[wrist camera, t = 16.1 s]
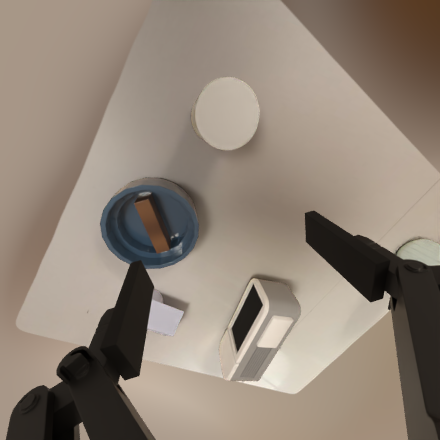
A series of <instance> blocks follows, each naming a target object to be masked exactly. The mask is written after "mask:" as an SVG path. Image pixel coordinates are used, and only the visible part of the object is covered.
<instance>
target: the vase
mask: <svg viewBox="0 0 440 440" xmlns="http://www.w3.org/2000/svg"><path fill="white" fill-rule="evenodd" d="M396 255H397V256H398V257H400V258H402V259H403V260H405V259H412V260H417V261H420V262H423V263H425V264H426V265H428V266H433V265H440V244H438V243H435V242H433V241H431V240H427V239H419V240H414V241H411V242H408V243H406V244H405V245H403V246H402V247H401V248H400V249H399V250H398V252H397V254H396Z"/></svg>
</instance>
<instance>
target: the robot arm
mask: <svg viewBox="0 0 440 440" xmlns="http://www.w3.org/2000/svg"><path fill="white" fill-rule="evenodd" d="M305 230H306V242H307V243H308V244H309V245H310V246H311V247H312V248H313V249H314V250H315V251H316V252H317V253H318V254H319V255H320V256H322V257H323V258H324V259H325V260H326V261H327V262H328V263H329V264H330V265H331V266H332V267H333V268H334V269H335V270H336V271H338V272H339V273H340V274H341V275H342V276H343V277H344V278H345V279H346V280H347V281H348V282H349V283H350V284H351V285H352V286H353V287H355V288H356V289H357V290H358V291H359V292H360V293H361V294H362V295H363V296H364V297H365V298H366V299H367V300H368V301H369V302H373V301H376V300H380V299H383V296H384V291H386V292H387V293H388V294H390V295H391V297H390V301H389V306H388V310H390V309H391V313H392V320H393V328H394V336H395V342H396V351H397V357H398V365H399V373H400V381H401V388H402V396H403V403H404V411H405V419H406V426H407V434H408V440H440V265H433V266H428V265H426V264H425V263H423V262H420V261H417V260H412V259H405V260H403V259H402V258H400V257H398V256H397V255H395V254H393V253H392V252H390V251H388V250H387V249H385V248H383V247H381V246H380V245H378V244H377V243H375V242H374V241H372V240H370V239H369V238H367V237H363V236H360V235H356V236H353V235H351V234H350V233H348V232H346V231H345V230H343V229H342V228H340V227H339V226H337V225H336V224H334V223H333V222H331V221H329V220H328V219H326V218H325V217H323V216H322V215H320V214H319V213H317V212H316V211H310V212H307V213H305ZM153 290H154V285H153V283H152V281H151V279H150V277H149V275H148V273H147V271H146V269H145V267H144V265H143V263H142V261H141V260H139V261H135V262H132V263H131V264H130V267H129V269H128V272H127V275H126V278H125V280H124V283H123V286H122V289H121V291H120V294H119V297H118V300H117V302H116V305H115V308H112V309H108V310H107V311H106V312H105V314H104V315H103V316H102V317H101V319H100V322H99V324H98V327H97V329H96V332H95V334H94V336H93V339H92V341H91V344H90V346H89V349H88V348H87V347H86V346H81V347H78V348H75V349H74V350H72V351H71V352H69V353H68V354H67V355H66V356H65V357H64V358H63V359H62V361H61V362H60V363H59V366H58V368H57V376H59V378H61V379H62V380H63V381H62V382H61V383H59V384H57V385H56V386H54V387H52V388H51V389H49V388H47V387H46V386H44V385H42V386H38V387H36V388H34V389H32V390H31V391H29V392H28V393H27V394H26V395H25V396H24V397H23V398H22V399H21V400H20V401H19V402H18V404H17V405H16V407H15V408H14V410H13V412H12V414H11V417H10V422H9V427H8V432H7V437H6V440H80V434H79V424H80V423H81V422H83V424H84V427H85V429H86V432H87V434H88V436H89V439H90V440H155V438H154V436H153V435H152V433H151V432H150V430H149V429H148V427H147V426H146V424H145V423H144V421H143V420H142V418H141V417H140V415H139V414H138V412H137V411H136V409H135V408H134V406H133V405H132V403H131V402H130V400H129V399H128V397H127V396H126V394H125V393H124V391H123V390H122V388H121V387H120V385H119V384H118V381H119V377H120V375H121V376H122V378H123V379H124V380H128V379H131V378H134V377H137V376H139V375H140V368H141V363H142V357H143V351H144V345H145V339H146V333H147V327H148V320H149V314H150V308H151V302H152V296H153Z"/></svg>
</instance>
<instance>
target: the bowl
mask: <svg viewBox="0 0 440 440" xmlns="http://www.w3.org/2000/svg"><path fill="white" fill-rule="evenodd" d="M148 193H152V195H153V198H154V200H155V202H156V205H157V207H158V210H159V212H160V215H161V217H162V220H163V222H164V225H165V227H166V230H167V232H168V234H169V237H170V239H171V242H170V250H169V251H165V252H162V253H158V254H157V253H156V250H155V248H154V246H153V244H152V242H151V240H150V237H149V235H148V233H147V231H146V229H145V226H144V224H143V222H142V220H141V218H140V216H139V213H138V211H137V209H136V207H135V205H134V202H135V201H136V199H137V197H138V196H140V195H144V194H148ZM100 226H101V232H102V238H103V240H104V241H105V243H106V245H107V247H108V248H109V250H110V251H111V252H112V253H113V254H115V255H116V256H117V257H118V258H119V259H120V260H122V261H124V262H126V263H128V264H131V263H132V262H135V261H139V260H141V261H142V263H143V265H144V267H145V269H156V268H164V267H167V266H170V265H174V264H176V263H177V262H179V261H181V260H182V259H184V258H185V257H186V256H187V255H188V254H189V253H190V252H191V250H192V249H193V248H194V246H195V243H196V241H197V239H198V231H199V223H198V217H197V212H196V209H195V206H194V202H193V201H192V199H191V198H190V197H189V195H188V194H187V192H186V191H184V190H183V189H182V188H180V187H179V186H178V185H176V184H175V183H173V182H170V181H167V180H164V179H161V178H142V179H139V180H135V181H132V182H130V183H129V184H127V185H126V186H124V187H123V188H121V189H120V190H119V191H118V192H117V193H116V194H115V195H114V196H113V197H112V198H111V200H110V201H109V203H108V204H107V205H106V207H105V208H104V210H103V213H102V218H101V222H100Z"/></svg>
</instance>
